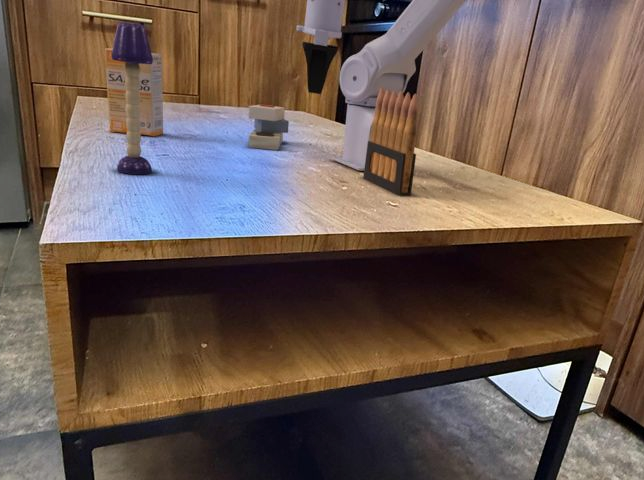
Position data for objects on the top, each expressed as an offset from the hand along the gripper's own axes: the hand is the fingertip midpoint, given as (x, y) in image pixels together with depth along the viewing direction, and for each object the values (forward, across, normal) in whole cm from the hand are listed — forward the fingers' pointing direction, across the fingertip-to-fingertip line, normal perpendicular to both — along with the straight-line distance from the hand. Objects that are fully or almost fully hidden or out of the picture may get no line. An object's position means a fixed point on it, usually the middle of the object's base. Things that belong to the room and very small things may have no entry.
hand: (314, 92), depth 97 cm
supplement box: (+12, -5, -30) cm, 33 cm away
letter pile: (+10, -8, -7) cm, 15 cm away
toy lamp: (+10, +28, -21) cm, 36 cm away
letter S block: (+10, -2, -7) cm, 13 cm away
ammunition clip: (+8, +24, +11) cm, 27 cm away
